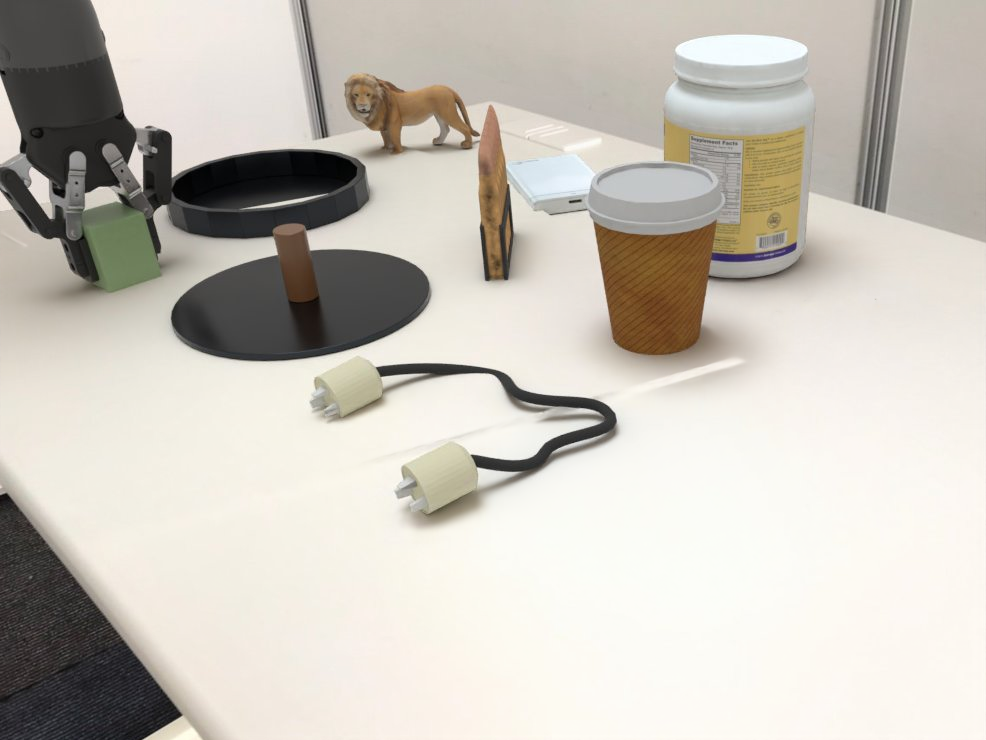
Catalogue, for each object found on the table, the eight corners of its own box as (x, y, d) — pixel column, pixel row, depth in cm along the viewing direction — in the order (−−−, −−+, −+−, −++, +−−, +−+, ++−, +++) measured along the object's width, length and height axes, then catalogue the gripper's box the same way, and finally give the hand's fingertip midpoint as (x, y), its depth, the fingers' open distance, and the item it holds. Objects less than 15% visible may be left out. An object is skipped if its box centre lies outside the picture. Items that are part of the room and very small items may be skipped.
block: (112, 299, 84) (89, 228, 81) (86, 285, 87) (63, 216, 84) (164, 282, 87) (143, 212, 84) (137, 269, 90) (116, 201, 86)
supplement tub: (688, 222, 97) (690, 28, 87) (818, 237, 93) (835, 36, 84) (643, 272, 87) (639, 60, 78) (785, 291, 84) (800, 71, 74)
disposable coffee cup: (744, 332, 78) (751, 172, 71) (676, 385, 71) (677, 215, 65) (637, 303, 82) (635, 151, 75) (565, 351, 76) (555, 188, 69)
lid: (198, 393, 71) (172, 304, 68) (157, 291, 86) (133, 213, 82) (467, 328, 79) (457, 245, 75) (388, 245, 93) (376, 171, 90)
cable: (504, 346, 77) (500, 302, 75) (639, 439, 66) (638, 391, 64) (301, 413, 69) (291, 366, 67) (416, 531, 58) (408, 480, 56)
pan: (189, 259, 91) (180, 226, 90) (158, 197, 105) (150, 167, 103) (394, 219, 99) (390, 188, 97) (341, 167, 112) (335, 138, 110)
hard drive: (502, 162, 107) (533, 199, 98) (578, 152, 110) (615, 188, 100) (503, 178, 108) (534, 216, 99) (578, 168, 111) (616, 205, 101)
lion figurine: (364, 168, 112) (349, 81, 106) (348, 156, 115) (333, 71, 110) (489, 145, 118) (481, 61, 113) (470, 134, 121) (461, 52, 116)
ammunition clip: (493, 239, 94) (480, 102, 87) (514, 238, 94) (502, 101, 87) (485, 287, 85) (469, 139, 79) (508, 286, 85) (494, 138, 79)
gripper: (120, 29, 83) (177, 234, 93) (-73, 63, 74) (12, 286, 84) (167, 41, 79) (222, 254, 89) (-31, 78, 70) (54, 311, 80)
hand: (120, 269), depth 86 cm, fingers closed on block, 4 cm apart
